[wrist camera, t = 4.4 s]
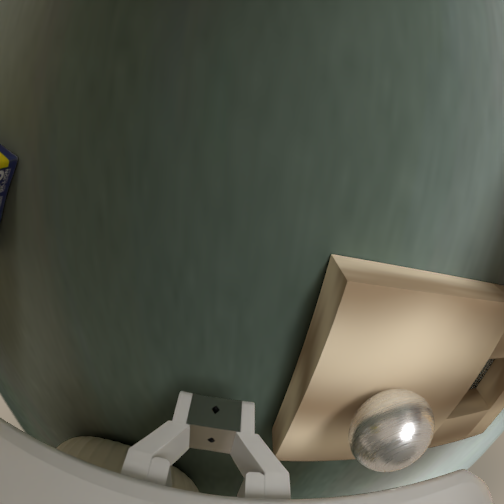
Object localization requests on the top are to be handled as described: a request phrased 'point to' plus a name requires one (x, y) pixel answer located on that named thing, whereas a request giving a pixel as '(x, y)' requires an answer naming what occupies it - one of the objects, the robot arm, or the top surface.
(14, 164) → the supplement box
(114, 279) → the top surface
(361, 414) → the steel ball
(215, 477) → the top surface
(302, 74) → the top surface
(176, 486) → the canister
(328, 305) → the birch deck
